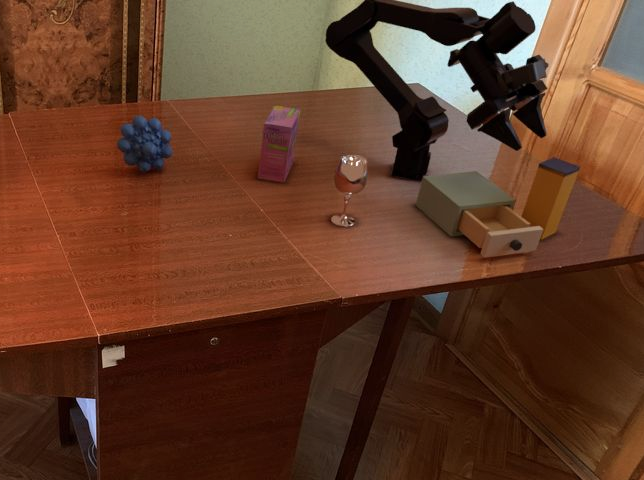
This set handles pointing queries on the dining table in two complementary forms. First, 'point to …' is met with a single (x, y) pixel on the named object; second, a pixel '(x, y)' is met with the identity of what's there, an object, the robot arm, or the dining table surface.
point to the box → (278, 143)
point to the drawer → (499, 230)
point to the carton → (549, 194)
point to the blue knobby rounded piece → (144, 143)
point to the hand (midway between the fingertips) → (532, 143)
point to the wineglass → (349, 183)
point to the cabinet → (458, 197)
